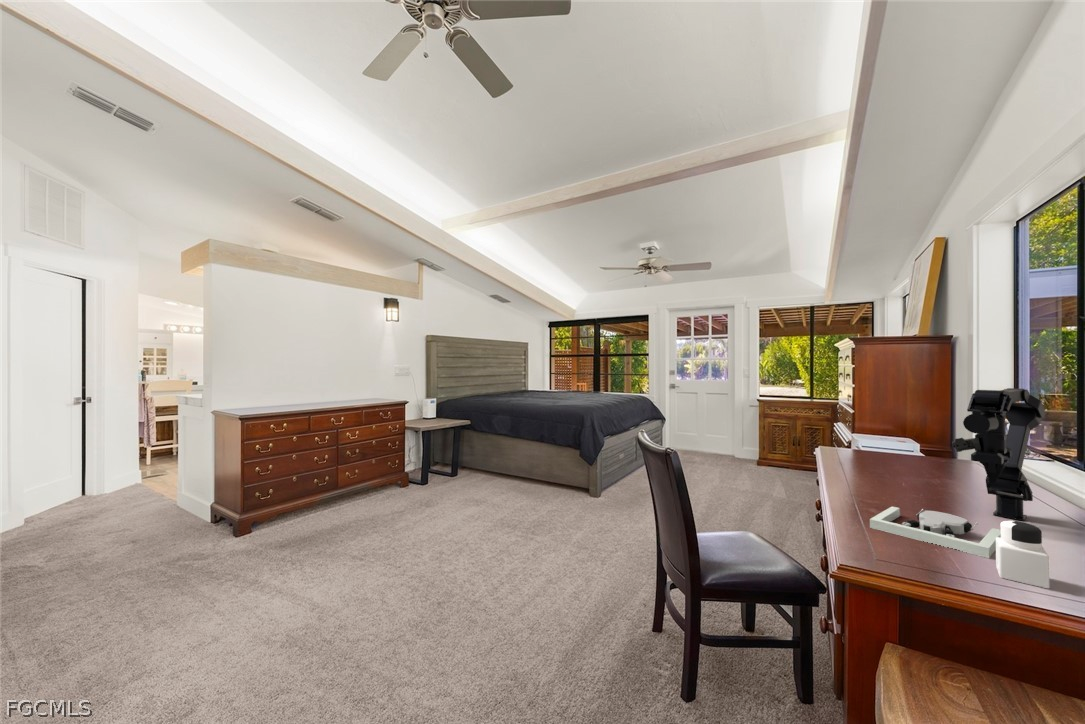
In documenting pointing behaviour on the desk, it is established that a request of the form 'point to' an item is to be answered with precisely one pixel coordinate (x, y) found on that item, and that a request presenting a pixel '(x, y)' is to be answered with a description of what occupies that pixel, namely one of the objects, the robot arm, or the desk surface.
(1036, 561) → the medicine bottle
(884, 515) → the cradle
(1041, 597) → the desk surface
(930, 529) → the robot toy
